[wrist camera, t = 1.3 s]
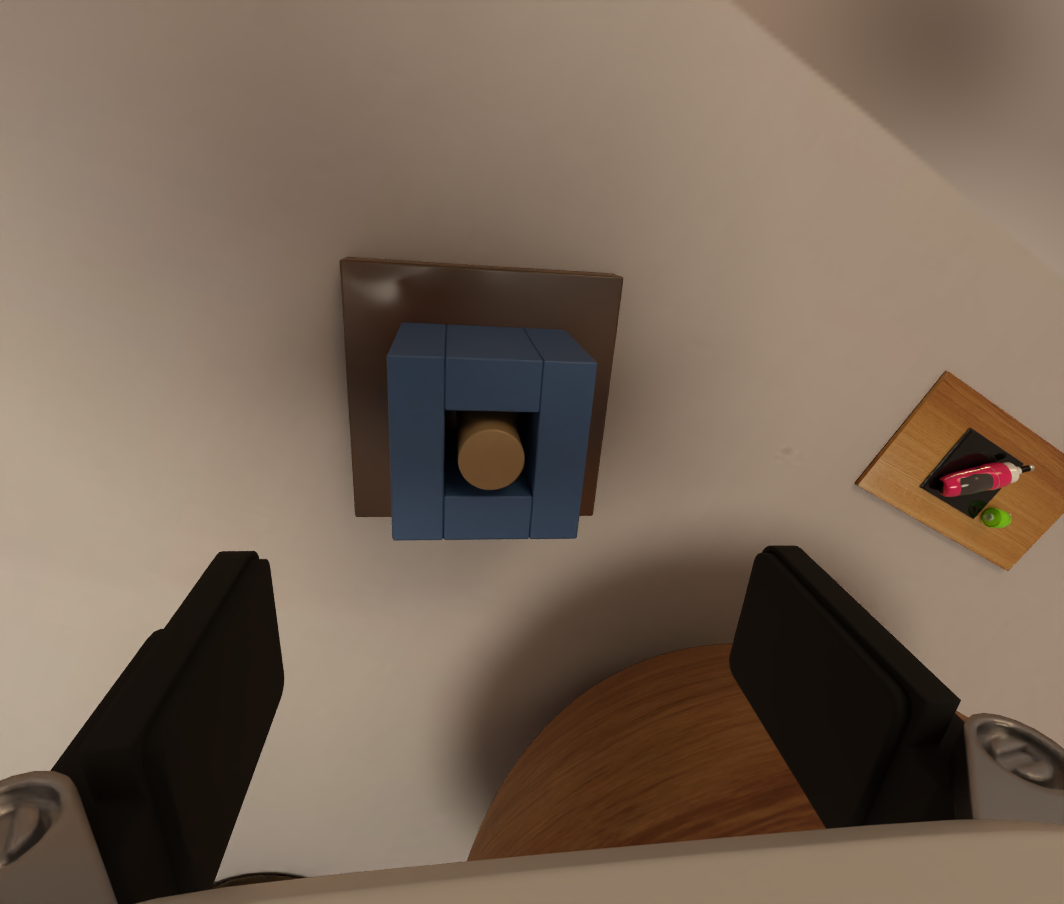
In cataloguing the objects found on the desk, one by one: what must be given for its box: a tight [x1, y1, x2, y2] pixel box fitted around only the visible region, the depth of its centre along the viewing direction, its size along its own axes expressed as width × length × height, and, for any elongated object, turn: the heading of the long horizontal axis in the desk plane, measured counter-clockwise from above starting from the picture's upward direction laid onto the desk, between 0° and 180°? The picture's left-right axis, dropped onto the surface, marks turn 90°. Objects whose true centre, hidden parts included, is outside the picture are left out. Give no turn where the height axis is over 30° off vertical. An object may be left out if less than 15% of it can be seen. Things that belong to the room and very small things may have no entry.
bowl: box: [467, 644, 968, 861], centre depth 25 cm, size 25×25×15 cm
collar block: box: [387, 322, 597, 540], centre depth 19 cm, size 6×6×5 cm
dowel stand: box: [340, 257, 623, 517], centre depth 19 cm, size 10×10×7 cm
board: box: [855, 371, 1064, 571], centre depth 27 cm, size 6×12×2 cm, turn 60°
